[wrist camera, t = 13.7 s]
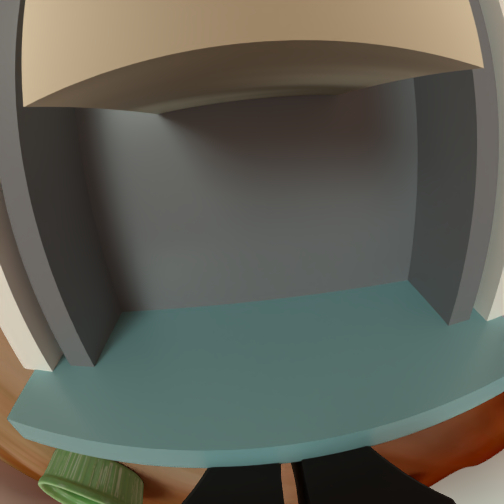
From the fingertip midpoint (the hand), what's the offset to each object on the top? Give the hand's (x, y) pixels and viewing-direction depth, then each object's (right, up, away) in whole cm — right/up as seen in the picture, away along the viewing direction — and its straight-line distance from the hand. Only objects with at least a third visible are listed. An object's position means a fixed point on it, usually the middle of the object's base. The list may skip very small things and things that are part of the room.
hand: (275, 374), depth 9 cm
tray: (-1, +9, -2) cm, 9 cm away
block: (-1, +10, -4) cm, 11 cm away
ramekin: (-14, -14, +8) cm, 21 cm away
